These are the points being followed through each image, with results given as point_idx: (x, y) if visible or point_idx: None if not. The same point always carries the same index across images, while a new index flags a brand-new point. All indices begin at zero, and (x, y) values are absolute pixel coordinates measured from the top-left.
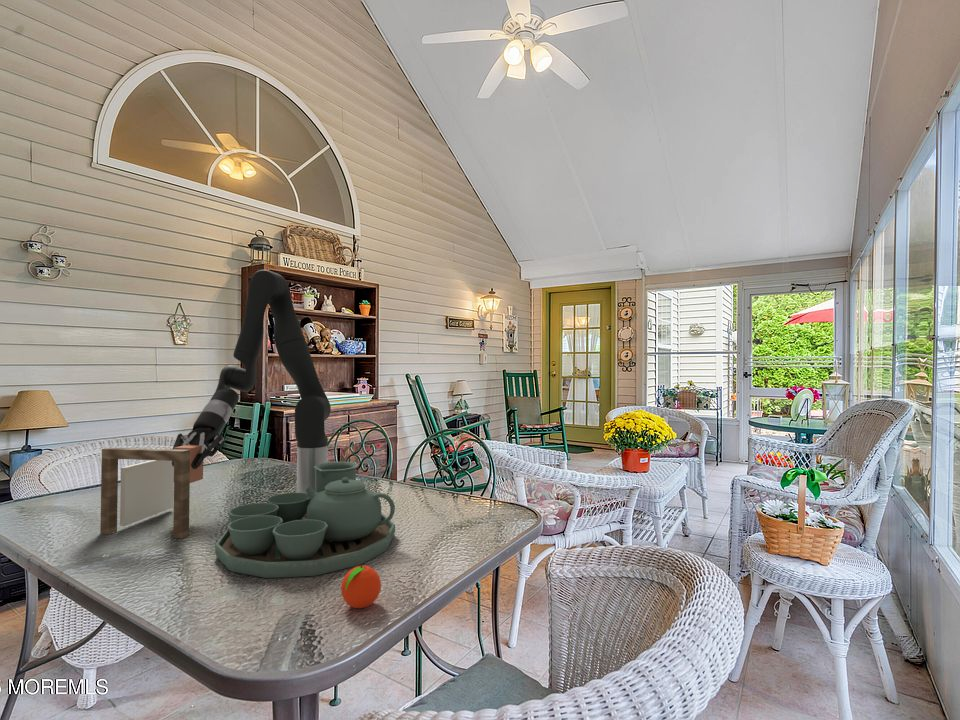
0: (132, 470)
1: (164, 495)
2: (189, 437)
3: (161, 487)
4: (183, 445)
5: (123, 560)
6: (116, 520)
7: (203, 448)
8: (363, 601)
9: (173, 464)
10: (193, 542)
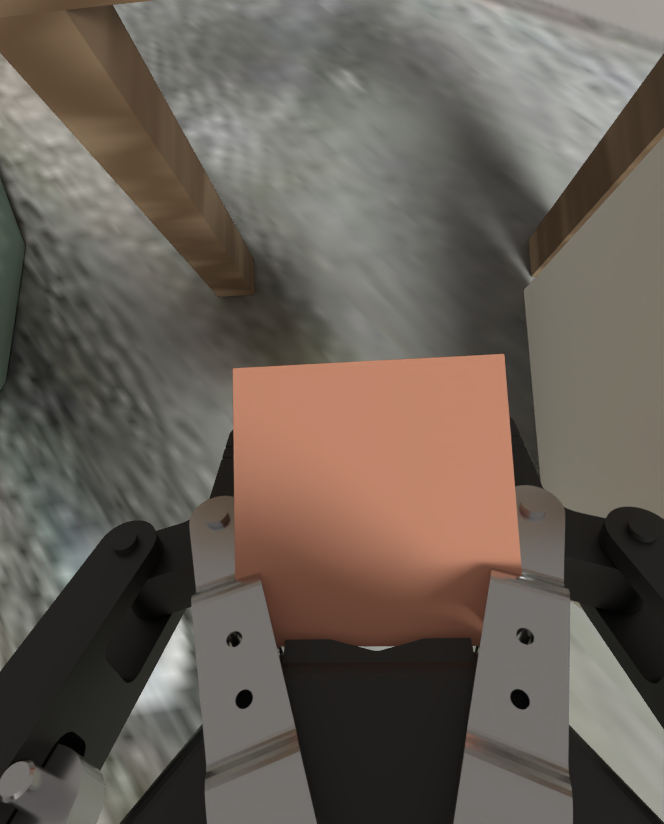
0: None
1: None
2: (566, 754)
3: (605, 516)
4: (516, 550)
5: (255, 62)
6: (548, 252)
7: (196, 562)
8: None
9: None
10: (151, 237)
